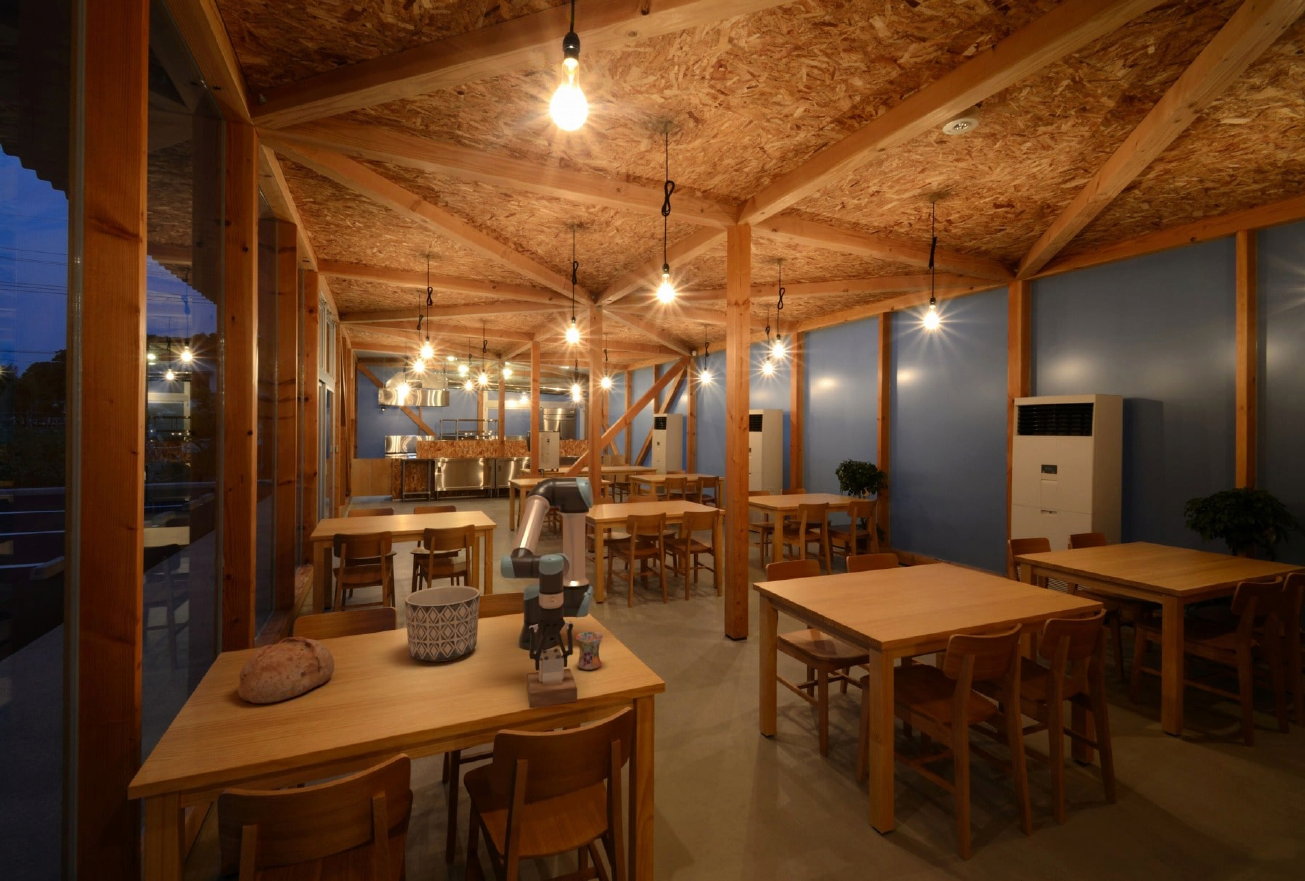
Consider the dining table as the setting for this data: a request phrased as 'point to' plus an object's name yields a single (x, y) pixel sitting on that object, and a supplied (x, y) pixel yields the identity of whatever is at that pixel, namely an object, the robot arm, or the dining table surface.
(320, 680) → the bread
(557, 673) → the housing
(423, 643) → the planter
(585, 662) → the mug
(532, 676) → the stand
